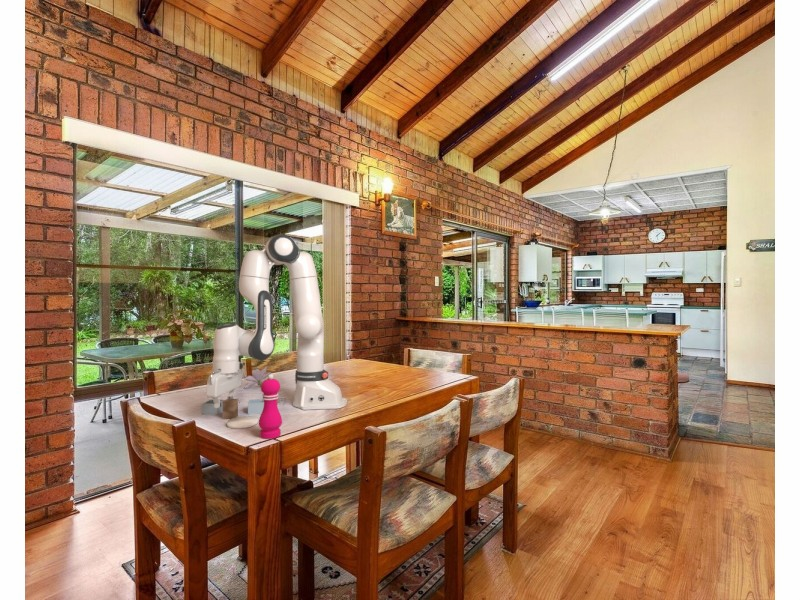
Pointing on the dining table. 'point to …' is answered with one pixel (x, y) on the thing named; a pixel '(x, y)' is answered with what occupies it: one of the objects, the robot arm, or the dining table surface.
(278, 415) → the pepper mill
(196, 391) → the dining table surface
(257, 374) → the water lily
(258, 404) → the sleeve
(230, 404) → the walnut block
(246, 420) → the plate
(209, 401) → the sleeve
